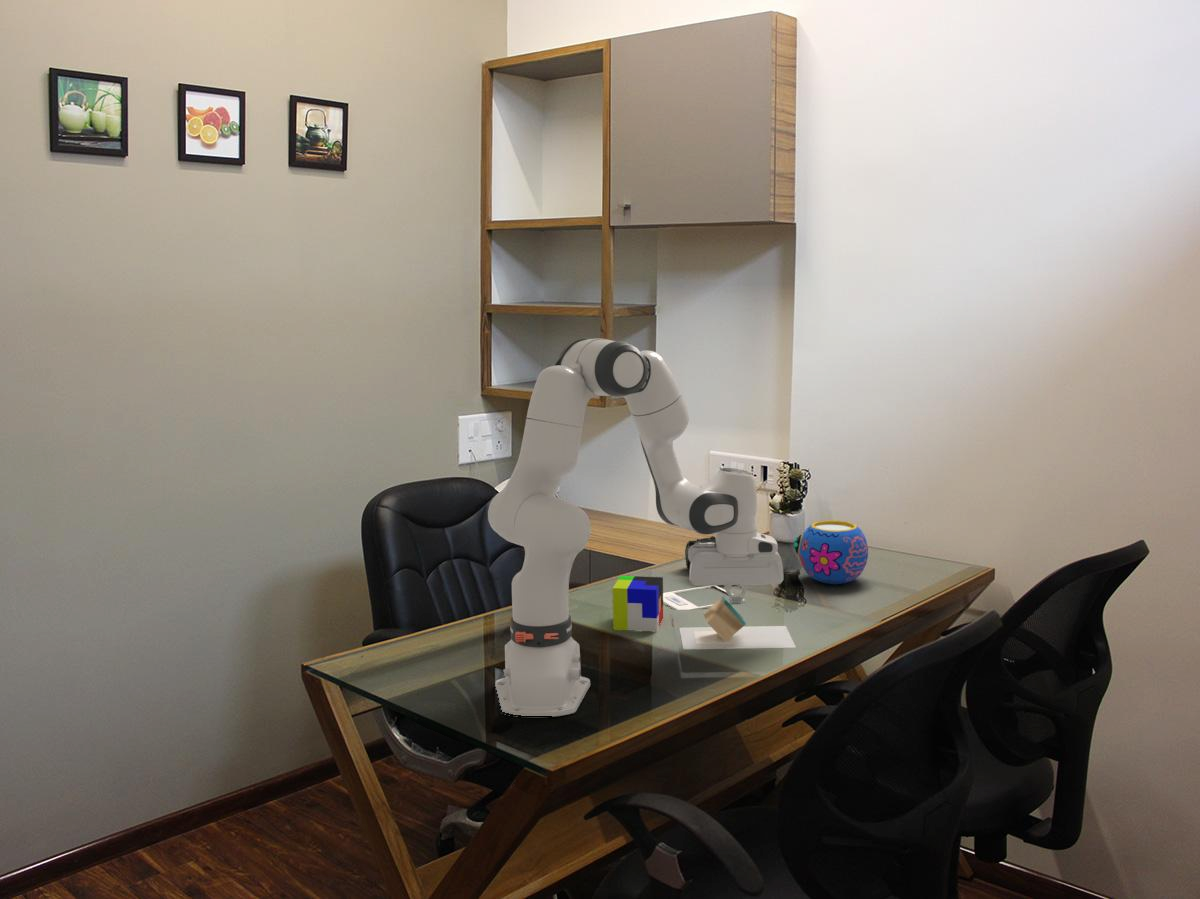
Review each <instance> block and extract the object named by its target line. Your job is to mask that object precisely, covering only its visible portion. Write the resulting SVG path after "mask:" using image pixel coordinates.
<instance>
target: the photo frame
mask: <svg viewBox="0 0 1200 899" xmlns="http://www.w3.org/2000/svg"><path fill="white" fill-rule="evenodd" d="M713 587H714V588H716V589H718V590H720V591H722V592H724V593H726V594H727V592H726V590H725V588H722V587H719V585H703V586H698V587H693V588H686V589H678V590H675V591H668V592H663V602H664V603H665V604H664V603H663V604H664V605H666V604H667V605H668V607H669V606H670V607H669V608H671V609H673V610H674V609H675V610H674V611H683V610H685V611H686V610H691V611H692V610H693V611H694V610H703V609H702V608H707V609H709V608H710V607H712V606H713V605H714V604H715V603H714V604H709V605H701V606H698V605H695V604H694V603H692V602H691V601H689V600H687V599H685V598H684V597H681V596H680V595H678V594H684V593H688V592H687V591H690V592H693V591H692V590H696V591H698V590H697V589H702V590H707V589H706V588H708V589H711V588H713ZM676 593H677V594H676ZM732 595H735V594H734V593H732ZM745 602H746V599H744V598H743V603H745ZM667 605H666V606H667Z"/></svg>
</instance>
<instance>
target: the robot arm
mask: <svg viewBox="0 0 1200 899" xmlns="http://www.w3.org/2000/svg"><path fill="white" fill-rule="evenodd" d="M594 395H595V396H603V397H615V398H616V397H617V398H618V397H619V398H620V397H623V398H624V400H625V402H626V404H627V406H628V409H629V412H630V414H631V417H632V418H633V422H634V424H635V426H636V428H637V430H638V434H639V440H640V444H641V447H642V452H643V454H644V457H645V460H646V462H647V467H648V469H649V472H650V475H651V477H652V481H653V483H654V484H653V485H654V489H655V490H654V491H655V506H656V507H655V508H656V511H657V514H658V515H659V517H660V518H661V520H662V521H663V522H664V523H666V524H668V525H670V526H675V527H679V528H683V529H685V530H688V531H690V532H694V533H696V534H700V535H712V534H715V537H716V542H708V543H695V545H692V546H690V548H689V549H688V559H689V561H690V562H691V564H690V572H689V573H688V574H689V576H688V577H689V578H688V579H689V581H690V583H691V584H692V585H693V586H695V587H696V586H698V587H703V586H710V585H716V586H724V587H723V589H724V590H726V592H727V593H726V592H725V593H726V594H727V596H728V598H729V600H728V601H729V603H730V604H731V605H744V602H743V599H744V597H745V595H746V594H747V592H748V590H749V586H750V585H753V586H754V585H755V586H756V585H758V586H759V585H761V586H762V585H780V584H782V582H783V581H784V566H783V562H782V557H781V556H780V554H779V552H778V549H779V545H778V542H777V540H776V539H775V538H774V537H773V536H771V535H769V534H763V533H760V532H758V531H757V530H758V527H757V523H756V513H757V511H758V510H757V509H758V506H757V505H758V499H757V498H758V496H757V495H758V494H757V486H756V484H757V483H756V480H755V478H754V475H753V474H752V473H751V472H750V471H746V470H744V469H738V468H735V467H734V468H733V467H723V468H720V469H719V470H718V471H717V474H715V475H714V476H713V477H712V478H710V480H709V481H707V482H706V483H703V484H702V485H697V484H694V483H692V482H691V481H689V480H688V479H687V478H685V477H686V476H684V475H683V473H682V471H681V467H680V464H679V461H678V458H677V455H676V453H675V450H674V443H673V442H674V441H675V440H677V439H678V438H680V436H682V434H684V432H685V431H686V429H687V426H688V424H689V421H690V417H689V416H690V415H689V411H688V407H687V404H686V401H685V398H684V397H683V393H682V392H681V389H680V386H679V383H677V380H676V379H675V376H674V374H673V373H672V371H671V368H670V367H669V366H668V365H667V363H666V361H665V360H664V359H663V357H662V356H661V355H660V353H658V352H657V351H654V350H648V349H647V350H640V349H639V348H637V347H636V346H634V345H633V344H631V343H628V342H626V341H624V340H623V341H621V340H611V339H609V338H602V337H601V338H581V339H580V338H579V339H577V340H574V341H572V342H571V343H568V345H567V346H565V348H563V350H562V351H561V352H560V354H559V357H558V359H557V361H556V362H555V364H554V365H551V366H548V367H546V368H544V369H542V370H541V372H539V374H538V375H537V378H536V381H535V384H534V387H533V389H532V393H531V397H530V400H529V404H528V409H527V414H526V418H525V425H524V431H523V437H522V441H521V446H520V452H519V455H518V459H517V461H516V464H515V466H514V469H513V472H511V476H510V477H509V480H508V481H507V483H506V484H505V486H504V488H503V489H502V490H500V491H499V492H498V493H497V494H496V495H495V496H494V497H493V498H492V500H491V501H490V503H489V506H488V510H487V521H488V524H489V525H490V527H491V528H492V530H493V531H494V532H495V533H497V535H499V536H500V537H501V538H503V539H504V540H505V541H507V542H510V543H511V544H515V545H518V546H521V547H523V548H524V561H523V564H522V568H521V570H519V572H517V573H516V574H515V575H514V576H513V577H512V580H511V604H512V605H511V606H512V611H511V612H512V616H511V617H510V624H509V625H510V626H509V628H510V629H509V631H510V640H509V641H508V642H506V644H504V661H505V662H504V665H505V666H504V667H505V668H503V670H502V675H503V677H502V678H500V679H497V680H496V681H495V686H494V687H496V688H495V691H496V690H497V692H496V695H497V694H498V696H497V699H498V698H499V700H498V703H500V704H499V706H501V708H500V711H501V710H502V712H505V713H509V714H513V715H521V716H552V717H561V716H566V715H571V714H575V713H576V712H577V711H578V708H579V707H580V705H581V703H582V701H583V699H584V698H585V696H586V693H587V692H588V690H589V688H590V687H591V680H590V678H588V677H585V676H582V670H581V669H582V668H581V652H580V643H578V642H577V641H576V640H575V639H574V638H573V637H572V634H573V633H572V631H573V630H572V628H573V624H572V616H571V615H570V614H569V609H570V608H569V606H570V604H569V603H570V602H569V597H570V595H569V590H570V588H569V587H570V586H569V584H570V576H571V570H572V568H573V564H574V561H575V558H576V557H577V556H578V554H579V553H580V552H582V551H583V550H584V548H585V547H586V546H587V545H588V543H589V540H590V537H591V534H592V524H591V520H590V518H589V515H588V514H587V512H585V510H583V509H582V508H581V507H579V506H577V505H576V504H574V503H573V502H571V501H570V500H568V499H565V498H560V497H556V494H557V491H558V490H559V486H560V484H561V483H562V482H563V479H564V478H565V477H566V476H567V475H568V474H570V473H571V472H572V471H574V470H575V468H576V467H577V463H578V458H579V452H580V445H581V439H582V434H583V429H584V428H583V427H584V420H585V413H586V408H587V405H588V404H589V402H590V400H591V399H592V397H593V396H594ZM694 546H695V548H692V547H694ZM715 547H716V549H715ZM732 586H740V587H741V590H740V592H739V594H734V595H732V594H733V593H732V592H731V590H732ZM502 712H501V713H502Z"/></svg>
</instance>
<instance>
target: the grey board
mask: <svg viewBox="0 0 1200 899" xmlns="http://www.w3.org/2000/svg"><path fill="white" fill-rule="evenodd" d="M678 628H679V634H680V639H681V644H682V649H683V650H734V649H735V650H738V649H741V650H742V649H748V650H749V649H793V648H794V649H796V648H797V646H796V645H795V642H794V641H793V640H794V639H793V638H792V635H791V634H790V632H789V630H788V628H787V626H786V625H768V626H767V625H763V626H761V625H760V626H759V625H758V626H753V625H752V626H743V627H742V628H741V629H740V630H739V631H738V632H736V633H735V634H734V635H733V636H732V637H731V638H729V639H728V640H727V641H726V642H725V641H724V640H723V639H722V638H721V637H720V636H719V635H718V634H717V633H716V631H715V630H714V629H713V628H712V627H711V626H706V627H705V626H699V627H698V626H697V627H695V626H694V627H678Z"/></svg>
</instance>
